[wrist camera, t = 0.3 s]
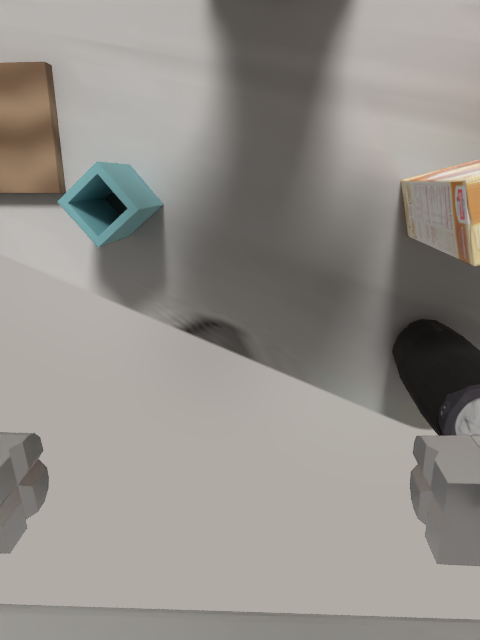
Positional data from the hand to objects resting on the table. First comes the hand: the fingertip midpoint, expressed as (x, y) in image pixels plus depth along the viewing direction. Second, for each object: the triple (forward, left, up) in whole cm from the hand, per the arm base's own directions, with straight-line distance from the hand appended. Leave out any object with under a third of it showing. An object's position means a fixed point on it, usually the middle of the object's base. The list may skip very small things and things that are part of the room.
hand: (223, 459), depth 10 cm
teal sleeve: (-3, -17, -47) cm, 50 cm away
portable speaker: (+15, +20, -47) cm, 53 cm away
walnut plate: (-11, -33, -47) cm, 59 cm away
